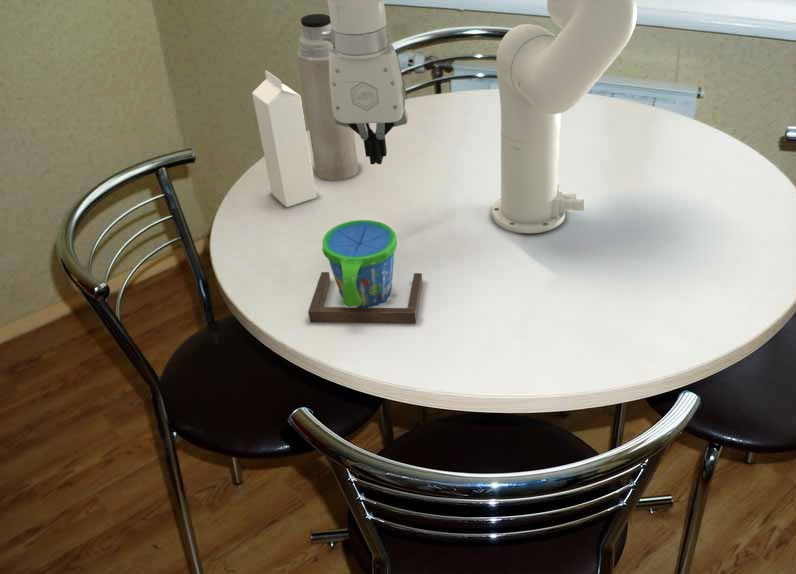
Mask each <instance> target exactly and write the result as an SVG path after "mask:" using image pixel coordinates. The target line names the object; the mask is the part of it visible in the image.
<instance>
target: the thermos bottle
mask: <svg viewBox="0 0 796 574" xmlns="http://www.w3.org/2000/svg"><path fill="white" fill-rule="evenodd" d="M300 22H301V25H302V35H301V36H300V37H299V39H298V42H299V44H298V47H299V49H298V51H297V54H296V55H297V56H296V57H297V63H298V68H299V75H300V81H301V82H300V83H301V88H302V94H303V100H304V106H305V113H306V118H307V125H308V133H309V137H310V144H311V151H312V157H313V163H314V169H315V174H316V175H317V177H319V178H320V179H323V180H326V181H327V180H328V181H340V180H341V181H342V180H346V179H349V178H351V177H354V176H355V175H356V174H357V173H358V171H359V158H358V154H357V153H358V152H357V146H356V136H355V131H354V130H353V129H351V128H350V127H344V126H340V125H337V124H336V123H335V117H334V114H333V108H332V100H331V89H330V76H329V53H330V51H331V50H332V48H333V44H332V43H331V42H329V41H323V38H322V32H323V31H328V30H330V29H331V28H332V27H331V20H330V15H328V14H324V13H314V14H313V13H312V14H308V15H304V16H302V17H301V19H300Z"/></svg>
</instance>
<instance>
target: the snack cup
mask: <svg viewBox="0 0 796 574" xmlns="http://www.w3.org/2000/svg"><path fill="white" fill-rule="evenodd" d="M397 244H398V243H397V234H396V231H395V230H394V229H393V228H392V227H390V226H389V225H387V224H385V223H384V222H381V221H376V220H371V219H369V220H368V219H357V220H350V221H345V222H342V223H340V224H338V225H336V226H334V227H332V228H330V229H328V231H327V232H326V233H325V234H324V236H323V238H322V248H321V249H322V253H323V256H324V257H325V258H326V259H327V260H328V261H329V265H330V268H331V269H330V270H331V271H332V275H333V278H334V281H335V283H336V287H337V289H338V293H339V295H340V296H341V299H342V300H341V301H342V302H343V304H344V305H345V306H347V307H362V308H375V307H377V306H379V305H382V304H385V303H386V302H388V299H389V298H390V297H391V293H392V287H393V277H394V276H393V274H394V261H395V252H396V249H397Z"/></svg>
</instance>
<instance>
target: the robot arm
mask: <svg viewBox="0 0 796 574" xmlns="http://www.w3.org/2000/svg"><path fill="white" fill-rule="evenodd" d="M326 1H327V6H328V14H329V15H328V16H330V20H331V23H330V24H331V27H332V28H331V29H330V30H328V31H323V32H322V38H323V41H329V42H331V43H332V44H333V48H332V50H331V51H330V53H329V76H330V89H331V100H332V108H333V114H334V117H335V123H336V124H337V125H340V126H344V127H350V128H351V129H353V130H354V133H356V134H357V135H359V137H360V139H361V140H363V145H364V153H365V157H366V158H367V157H368V158H369V163H370V165H375V164H377V165H382V163H383V159H384V157H387V155H388V152H387V151H388V150H387V142H386V135H387V134H388V133H389V132H390V131H391V130H392V129H393V128H394V127H400V126H404V125H407V124H408V120H409V116H408V113H407V110H406V108H405V106H406V97H405V90H404V84H403V78H402V73H401V69H400V64H399V60H398V57H397V52H396V50H395V47H394V45H393V44H391V43H389V33H388V27H387V25H388V24H387V16H386V6H385V0H326ZM546 8H547V12H548V15H549V17H550V18H551V20H552V21H553V22H554V24H555V25H556V26H558V27H559V29H561V30H560V32H559V33H558V35H557V36H556V35H555V34H553V33H552V32H551V31H549V30H548V29H546V28H544V27H542V26H541V25H537V24H533V23H523V24H519V25H516V26H514V27H512V28H510V30H508V31H507V32H506V33H505V34H504V36H503V37H502V39H501V41H500V42H499V45H498V48H497V52H496V57H495V65H496V66H495V67H496V78H497V85H498V92H499V103H500V198H499V199H498V200H496V201H495V203H494V204H493V205H492V208H491V216H492V220H493V221H494V223H496V224H497V226H498V227H499V226H500V228H503V229H505V230H507V231H509V232H514V233H517V234H518V233H520V234H539V233H540V234H541V233H545V232H549V231H551V230H554V229H556V228H557V227H559V226H560V225H561V224H562V223H563V222H564V220H565V217H566V211H575V212H576V211H577V212H579V211H580V212H581V211H584V207H585V200H584V199H583V198H577V193H563V191H560V187H559V186H560V185H559V183H558V182H559V181H558V180H559V177H558V176H559V159H560V139H561V138H560V137H561V119H562V118H561V114H563V113H565V112H568V111H569V110H571V109H572V108H574V107H575V106H576V105H578V104H579V102H581V101H582V99H583V98H584V97H585V96H586V95H587V94H588V93H589V91H590V90H591V89H592V88H593V87H594V86H595V84H596V83H597V82H598V81H599V79H600V78H601V77H602V76H603V75H604V74H605V72H606V71H607V69H609V67H610V66H611V64H612V63H613V62H614V61H616V59H617V58H618V56H619V55H620V54H621V52H622V51H623V50H624V49H625V48H626V46H627V44H628V43H629V41H630V39H631V37H632V35H633V33H634V30H635V28H636V23H637V18H638V7H637V3H636V0H546ZM370 124H375V132H374V131H373V129H372V127H371V125H370Z"/></svg>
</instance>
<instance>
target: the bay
mask: <svg viewBox="0 0 796 574" xmlns="http://www.w3.org/2000/svg"><path fill="white" fill-rule="evenodd" d="M331 281H332V280H331V276H330V272H329V271H321V273H320V276H319V278H318V282H317V284H316V287H315V290H314V293H313V296H312V298H311V302H310V305H309V308H308V311H307V313H308V318H309V323H318V324H319V323H321V324H322V323H323V324H328V323H329V324H333V323H334V324H395V325H396V324H399V325H416V324H417V319H418V314H419V307H420V302H421V295H422V290H423V285H424V283H423V274H422V272H414V273H413V277H412V282H411V287H410V295H409V299H408V305H407V307H368V308H362V307H349V306H347V307H346V306H324V305H325V302H326V299H327V296H328V292H329V290H330V286H331V283H332V282H331Z"/></svg>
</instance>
